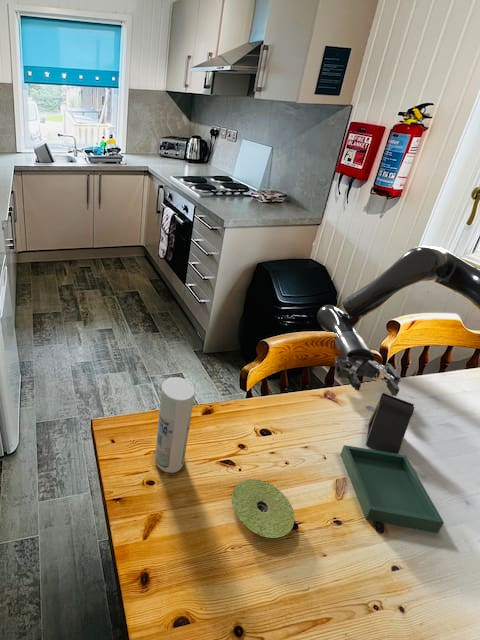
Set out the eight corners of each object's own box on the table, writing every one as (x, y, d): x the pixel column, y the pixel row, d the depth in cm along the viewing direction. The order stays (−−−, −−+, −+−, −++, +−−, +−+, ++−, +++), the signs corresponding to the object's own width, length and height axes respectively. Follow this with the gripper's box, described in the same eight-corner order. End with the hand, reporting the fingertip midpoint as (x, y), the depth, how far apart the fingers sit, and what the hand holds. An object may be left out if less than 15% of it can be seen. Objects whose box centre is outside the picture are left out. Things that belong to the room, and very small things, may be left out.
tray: (401, 464, 86) (405, 455, 85) (438, 533, 73) (444, 522, 72) (340, 454, 88) (343, 444, 87) (365, 519, 75) (370, 509, 74)
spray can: (149, 450, 87) (157, 379, 79) (177, 444, 89) (186, 374, 81) (160, 476, 81) (169, 403, 73) (189, 469, 83) (200, 397, 75)
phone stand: (369, 420, 98) (384, 382, 93) (397, 432, 94) (415, 394, 90) (365, 445, 91) (381, 405, 86) (395, 459, 88) (414, 418, 83)
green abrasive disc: (281, 558, 68) (284, 551, 67) (221, 517, 74) (222, 510, 73) (299, 508, 76) (301, 501, 76) (243, 475, 83) (244, 468, 82)
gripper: (330, 336, 111) (350, 374, 96) (384, 342, 109) (414, 382, 94) (323, 357, 114) (342, 397, 99) (376, 364, 112) (403, 406, 97)
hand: (377, 390), depth 97 cm, fingers open, 8 cm apart
